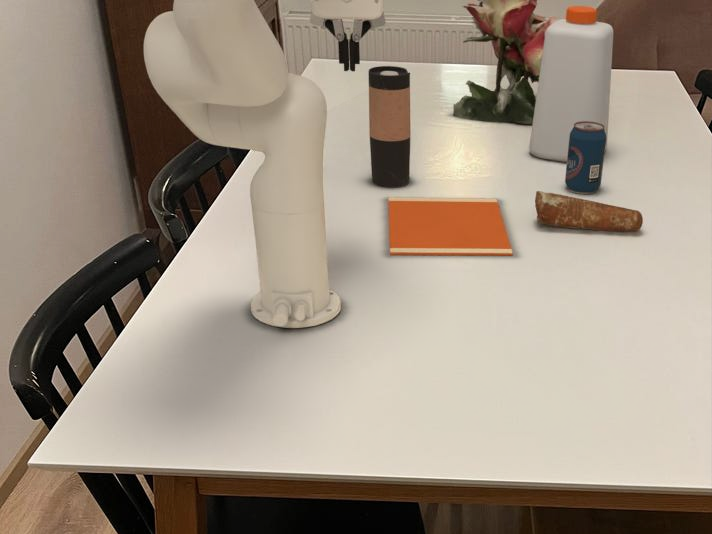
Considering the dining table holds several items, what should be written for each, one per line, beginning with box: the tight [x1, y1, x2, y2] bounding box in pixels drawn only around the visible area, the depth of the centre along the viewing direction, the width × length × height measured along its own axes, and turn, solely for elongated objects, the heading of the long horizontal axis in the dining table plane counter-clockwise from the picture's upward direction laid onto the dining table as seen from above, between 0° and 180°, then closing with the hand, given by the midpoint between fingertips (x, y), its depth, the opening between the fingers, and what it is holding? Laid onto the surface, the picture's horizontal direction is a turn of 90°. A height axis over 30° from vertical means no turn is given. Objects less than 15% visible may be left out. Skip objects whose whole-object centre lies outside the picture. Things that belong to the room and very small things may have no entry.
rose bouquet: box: [452, 0, 562, 125], centre depth 216 cm, size 26×29×30 cm
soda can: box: [564, 121, 608, 195], centre depth 176 cm, size 7×7×12 cm
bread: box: [534, 190, 644, 232], centre depth 161 cm, size 6×19×6 cm, turn 82°
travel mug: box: [368, 65, 412, 188], centre depth 172 cm, size 8×8×20 cm
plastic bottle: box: [528, 5, 614, 163], centre depth 190 cm, size 15×15×28 cm
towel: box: [388, 196, 514, 257], centre depth 161 cm, size 26×20×1 cm
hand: (349, 69), depth 136 cm, fingers closed
